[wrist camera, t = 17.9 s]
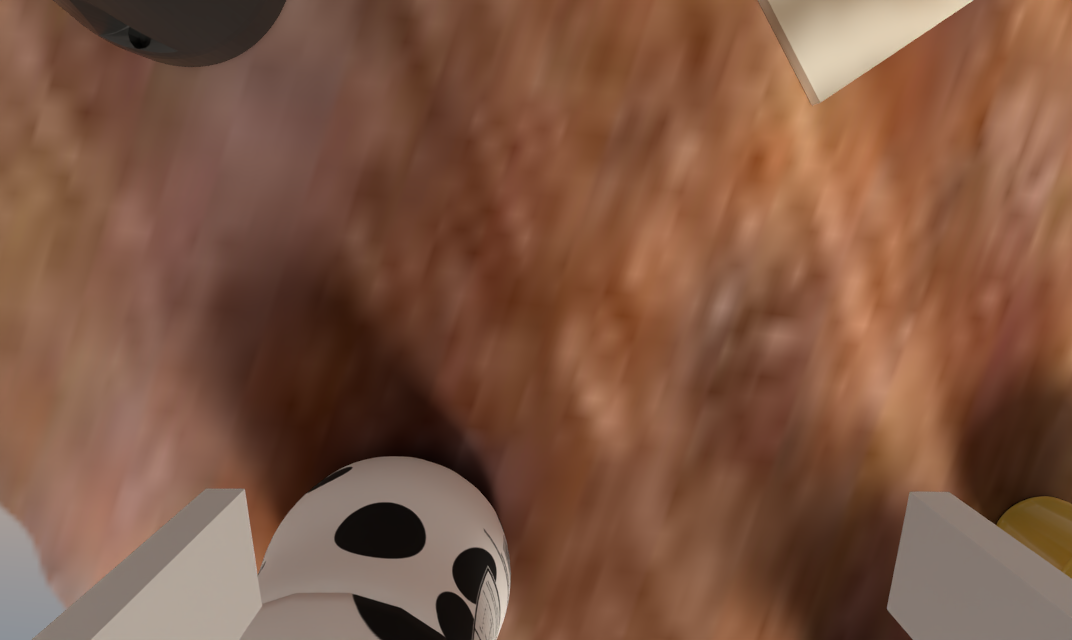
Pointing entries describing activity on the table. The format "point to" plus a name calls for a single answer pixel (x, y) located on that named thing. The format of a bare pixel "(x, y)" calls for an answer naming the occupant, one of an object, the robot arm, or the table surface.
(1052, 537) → the plant pot
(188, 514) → the robot arm
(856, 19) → the ash board
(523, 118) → the table surface
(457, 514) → the milk container
